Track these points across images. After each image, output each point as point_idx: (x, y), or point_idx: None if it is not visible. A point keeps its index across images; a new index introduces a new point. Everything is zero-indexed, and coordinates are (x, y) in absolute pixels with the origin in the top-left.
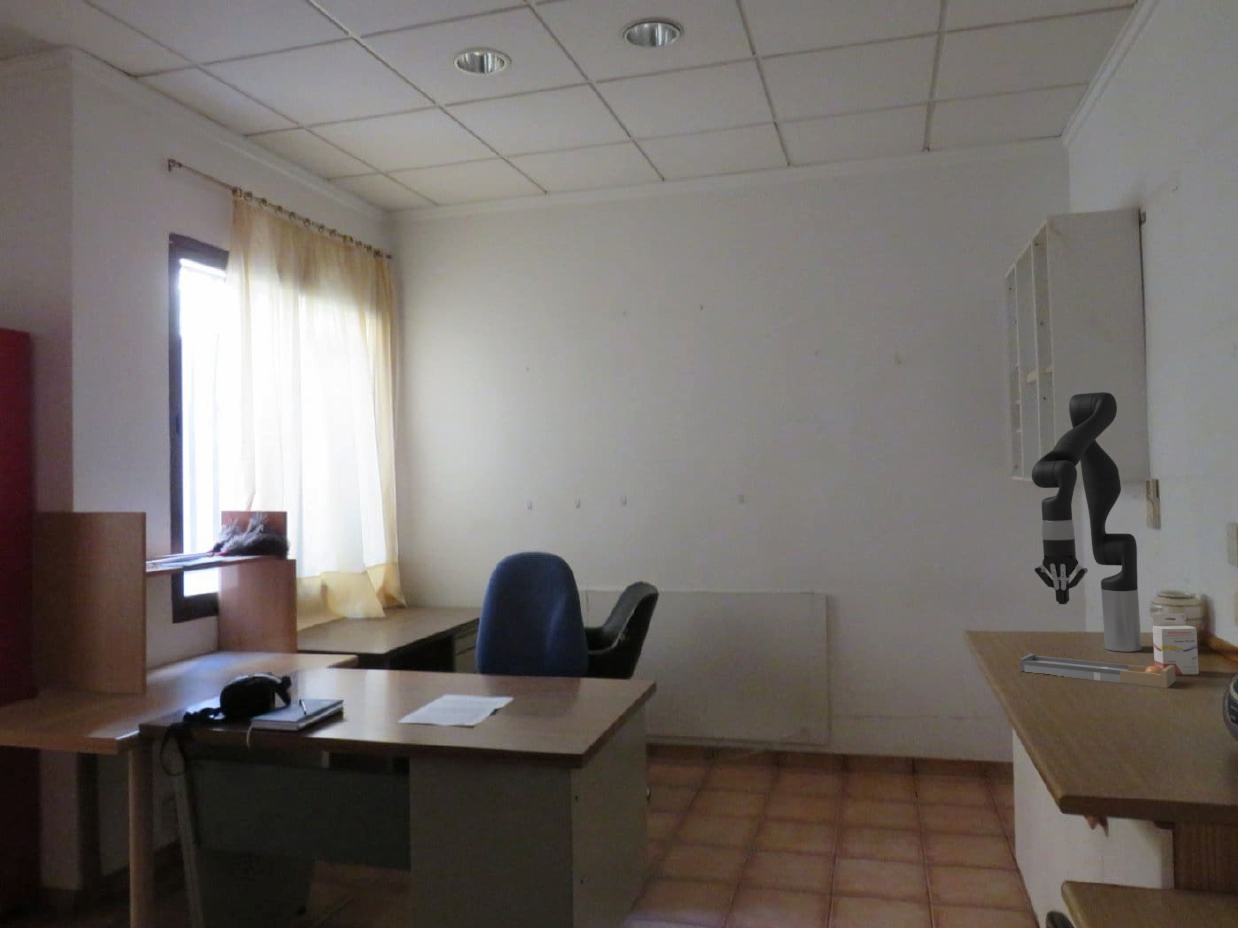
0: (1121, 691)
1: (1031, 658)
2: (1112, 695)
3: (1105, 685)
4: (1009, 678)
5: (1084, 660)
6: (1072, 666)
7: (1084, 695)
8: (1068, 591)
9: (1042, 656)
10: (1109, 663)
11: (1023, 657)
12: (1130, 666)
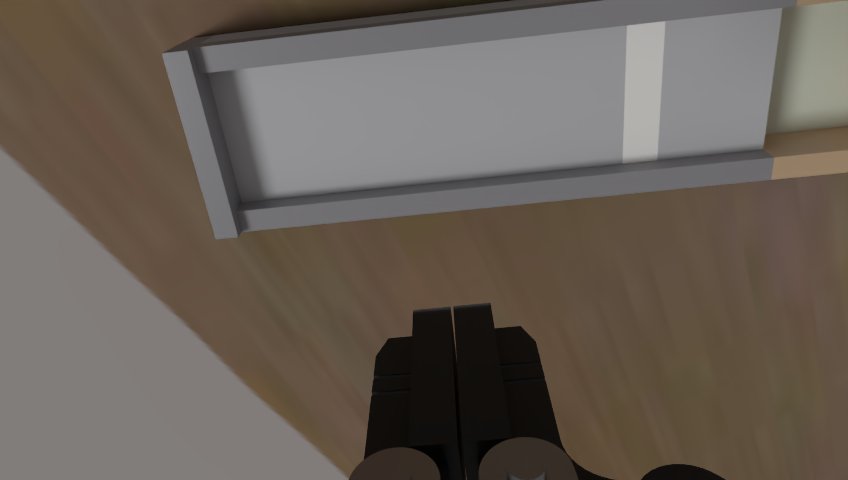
0: (770, 302)
1: (211, 113)
2: (748, 376)
3: (685, 240)
4: (280, 344)
5: (512, 12)
6: (512, 204)
7: (653, 426)
8: (558, 444)
9: (242, 46)
10: (677, 15)
11: (208, 197)
12: (805, 3)
